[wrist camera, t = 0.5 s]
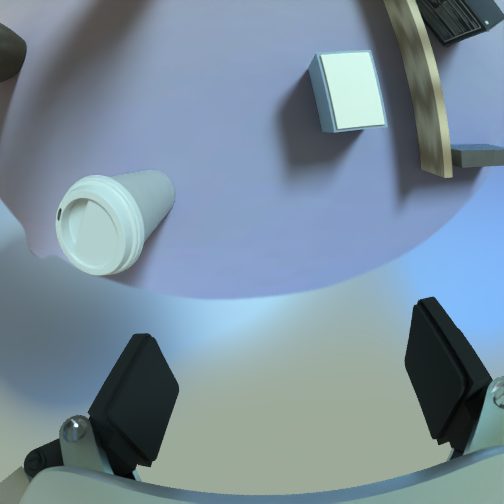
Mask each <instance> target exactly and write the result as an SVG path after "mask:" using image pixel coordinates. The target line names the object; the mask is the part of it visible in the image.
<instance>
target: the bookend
mask: <svg viewBox="0 0 504 504" xmlns="http://www.w3.org/2000/svg"><path fill="white" fill-rule="evenodd" d="M450 147H451V158H452V165H454V166H458V167H461V168H468V167H483V166H502V165H504V148H503V147H498V146H494V145H489V144H474V145H450Z"/></svg>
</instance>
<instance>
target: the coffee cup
mask: <svg viewBox="0 0 504 504" xmlns="http://www.w3.org/2000/svg"><path fill="white" fill-rule="evenodd" d="M174 202H175V188H174V185H173V183H172V181H171V180H170V178H169V177H168V176H167V175H166V174H164V173H163V172H161V171H158V170H144V171H138V172H133V173H127V174H122V175H116V176H111V177H106V176H102V175H91V176H87V177H84V178H82V179H80V180H78V181H77V182H76V183H75V184H74V185H73V186H72V187H71V188H70V189H69V190H68V191H67V193H66V194H65V196H64V198H63V200H62V202H61V203H60V205H59V207H58V210H57V214H56V233H57V237H58V241H59V243H60V246H61V248H62V250H63V252H64V253H65V255H66V256H67V258H68V259H69V260H70V261H71V262H72V263H73V264H74V265H75V266H76V267H77V268H79V269H80V270H82V271H84V272H86V273H88V274H91V275H112V274H117V273H120V272H122V271H124V270H126V269H128V268H130V267H131V266H132V265H133V264H134V263H135V262H136V261H137V259H138V258H139V256H140V254H141V251H142V248H143V244H144V242H145V241H146V239H147V238H148V237H149V236H150V234H151V233H152V232H153V231H154V229H155V228H156V227H157V226H158V224H159V223H160V222H161V221H162V219H163V218H164V217H165V216H166V215H167V213H168V212H169V211H170V210H171V208H172V207H173V205H174Z"/></svg>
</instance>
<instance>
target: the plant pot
mask: <svg viewBox="0 0 504 504" xmlns="http://www.w3.org/2000/svg"><path fill="white" fill-rule="evenodd" d="M25 55H26V43H25V41H24V40H23V39H22V38H21V37H20V36H18V35H17V34H16V33H15V32H13V31H12V30H11V29H9V28H8V27H6V26H4V25H3V24H1V23H0V82H2V81H4V80H7V79H9V78H11V77H13V76H14V75H15V74H16V73H17V72H18V70H19V69H20V67H21V65H22V64H23V61H24V58H25Z"/></svg>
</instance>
